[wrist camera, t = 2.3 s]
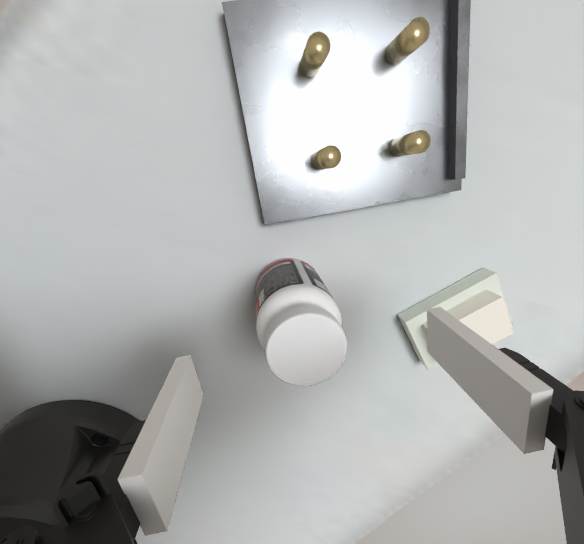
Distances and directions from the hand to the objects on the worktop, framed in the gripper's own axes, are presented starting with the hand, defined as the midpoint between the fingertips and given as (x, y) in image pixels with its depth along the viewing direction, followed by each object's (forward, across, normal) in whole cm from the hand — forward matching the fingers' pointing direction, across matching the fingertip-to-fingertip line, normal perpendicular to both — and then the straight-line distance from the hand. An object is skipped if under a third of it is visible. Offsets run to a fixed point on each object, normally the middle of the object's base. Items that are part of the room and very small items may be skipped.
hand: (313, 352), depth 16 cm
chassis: (+10, +6, +13) cm, 18 cm away
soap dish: (+10, +14, -6) cm, 19 cm away
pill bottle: (+10, -1, 0) cm, 10 cm away
